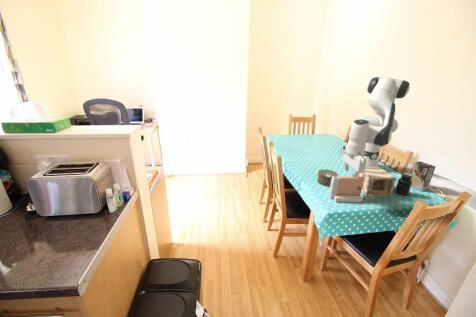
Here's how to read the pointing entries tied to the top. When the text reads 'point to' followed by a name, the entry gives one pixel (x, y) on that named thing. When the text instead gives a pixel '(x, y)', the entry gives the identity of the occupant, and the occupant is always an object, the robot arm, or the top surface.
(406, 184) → the supplement bottle
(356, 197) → the door stand
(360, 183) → the door
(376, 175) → the cabinet
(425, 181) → the coffee box
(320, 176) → the can
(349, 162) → the robot arm
